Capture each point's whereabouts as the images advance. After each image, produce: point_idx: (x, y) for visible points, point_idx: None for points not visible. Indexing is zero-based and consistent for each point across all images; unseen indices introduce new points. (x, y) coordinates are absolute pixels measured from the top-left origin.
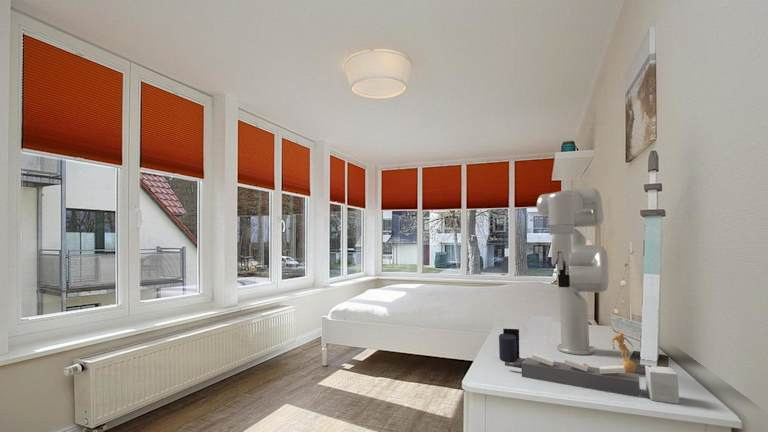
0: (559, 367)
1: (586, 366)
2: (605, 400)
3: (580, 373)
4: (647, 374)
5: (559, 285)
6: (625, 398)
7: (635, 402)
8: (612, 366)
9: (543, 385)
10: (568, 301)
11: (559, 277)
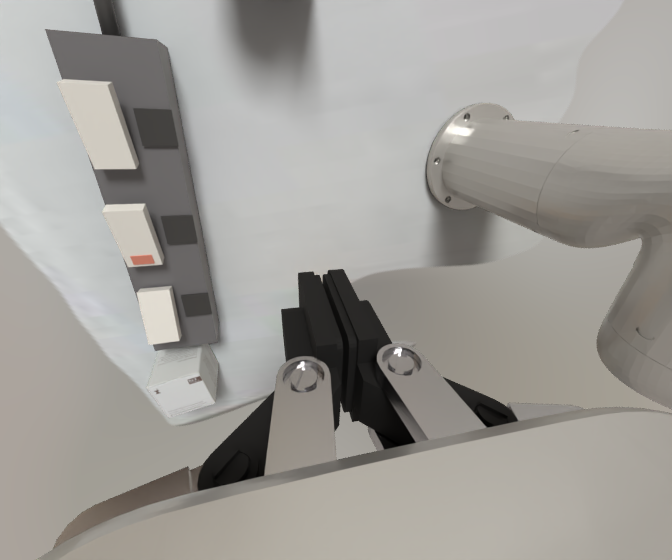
0: (118, 183)
1: (133, 263)
2: (77, 288)
3: None
4: (171, 371)
5: (299, 283)
6: (131, 314)
7: (121, 330)
8: (166, 317)
9: (46, 136)
10: (583, 185)
11: (313, 334)
